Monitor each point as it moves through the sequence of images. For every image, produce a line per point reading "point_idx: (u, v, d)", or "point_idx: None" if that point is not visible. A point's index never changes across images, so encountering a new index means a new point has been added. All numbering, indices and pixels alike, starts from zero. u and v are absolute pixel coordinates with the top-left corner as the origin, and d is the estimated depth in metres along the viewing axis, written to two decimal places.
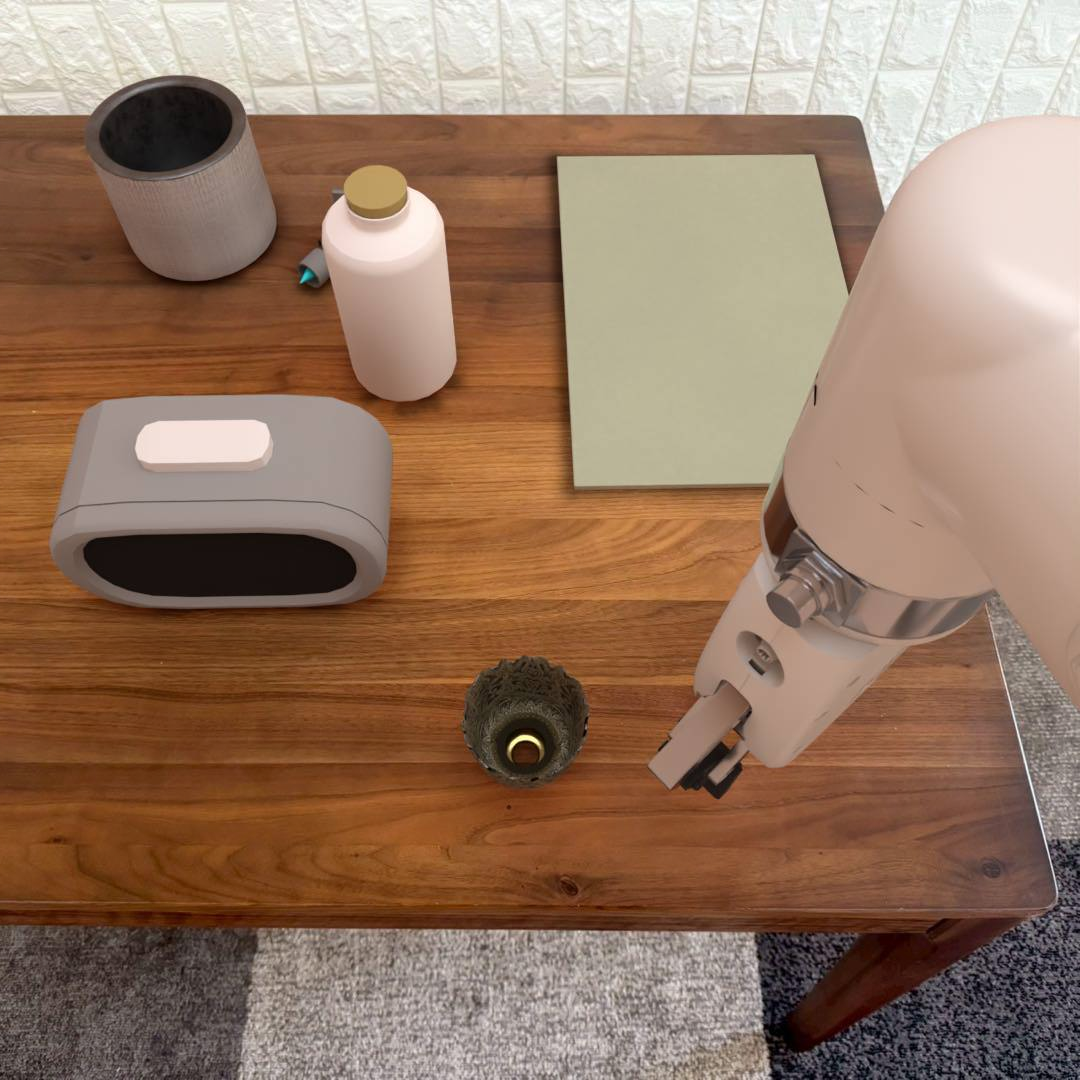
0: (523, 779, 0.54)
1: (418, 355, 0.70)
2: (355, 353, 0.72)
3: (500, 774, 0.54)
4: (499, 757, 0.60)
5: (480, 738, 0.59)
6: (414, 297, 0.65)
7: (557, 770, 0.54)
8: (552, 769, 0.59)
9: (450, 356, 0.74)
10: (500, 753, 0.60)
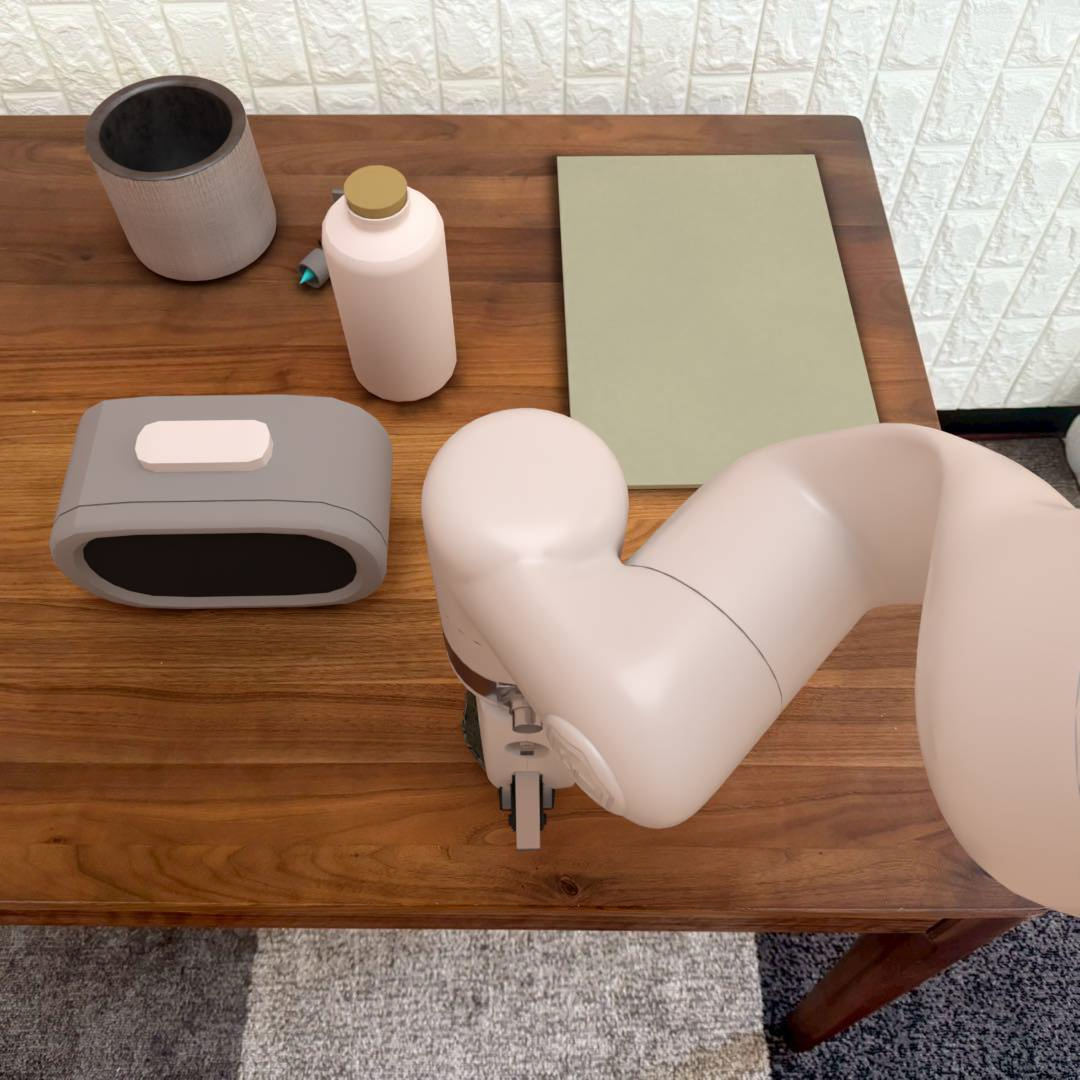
0: None
1: (418, 355, 0.70)
2: (355, 353, 0.72)
3: None
4: None
5: (479, 738, 0.59)
6: (414, 297, 0.65)
7: None
8: None
9: (450, 356, 0.74)
10: None
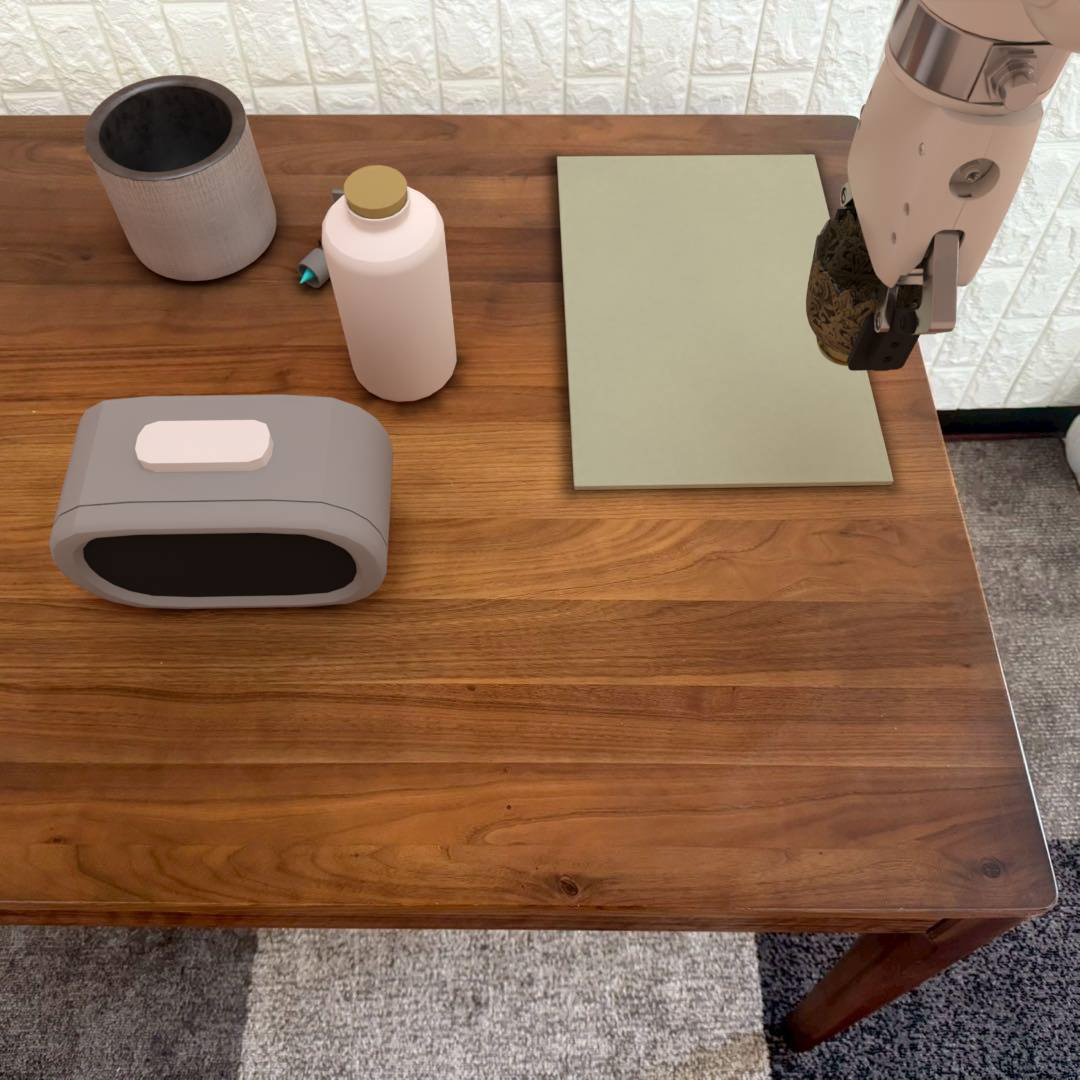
0: None
1: (418, 355, 0.70)
2: (355, 353, 0.72)
3: (869, 301, 0.51)
4: None
5: None
6: (414, 297, 0.65)
7: None
8: None
9: (450, 356, 0.74)
10: None
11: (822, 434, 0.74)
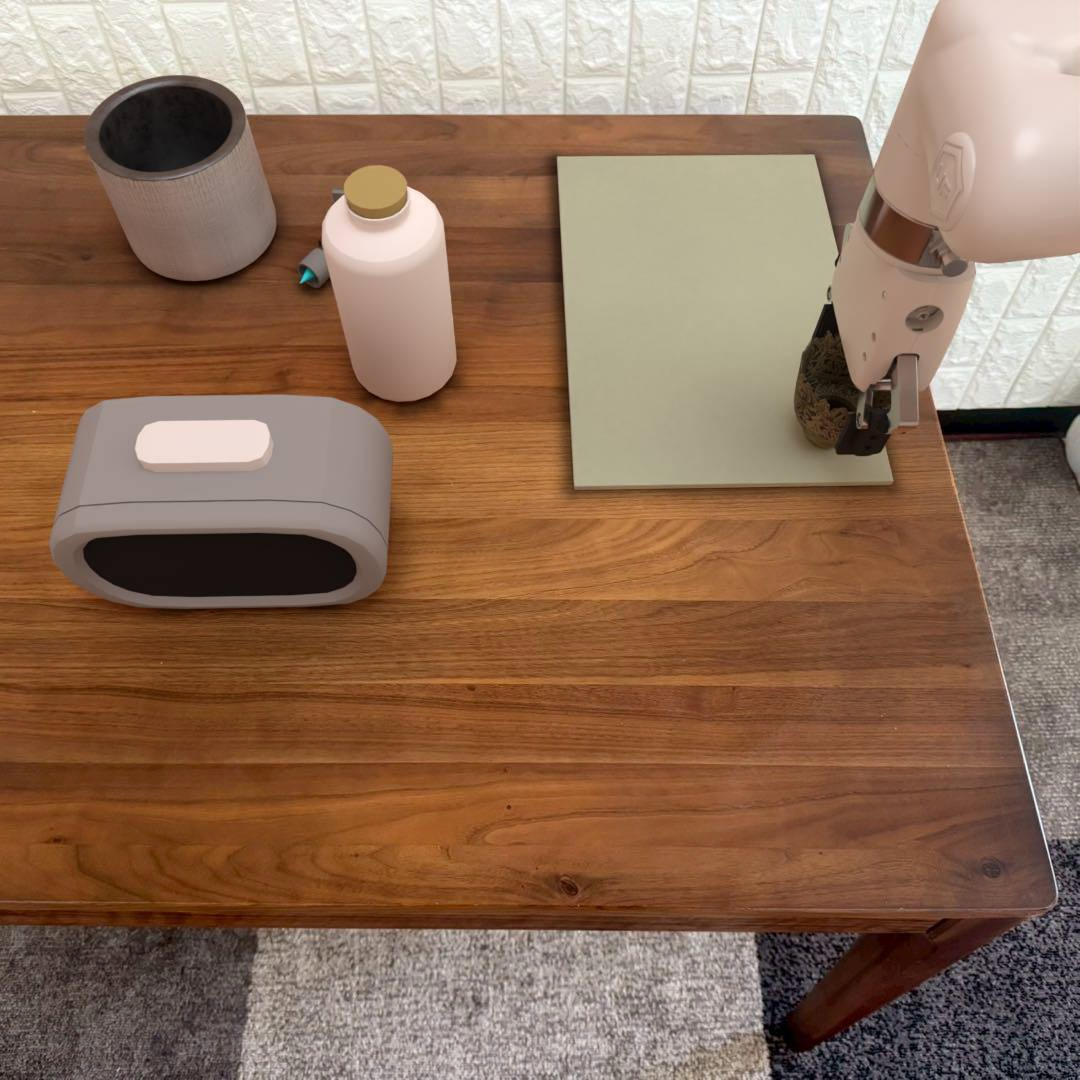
0: None
1: (418, 355, 0.70)
2: (355, 353, 0.72)
3: (842, 408, 0.65)
4: None
5: None
6: (414, 297, 0.65)
7: (887, 407, 0.66)
8: None
9: (450, 356, 0.74)
10: None
11: None
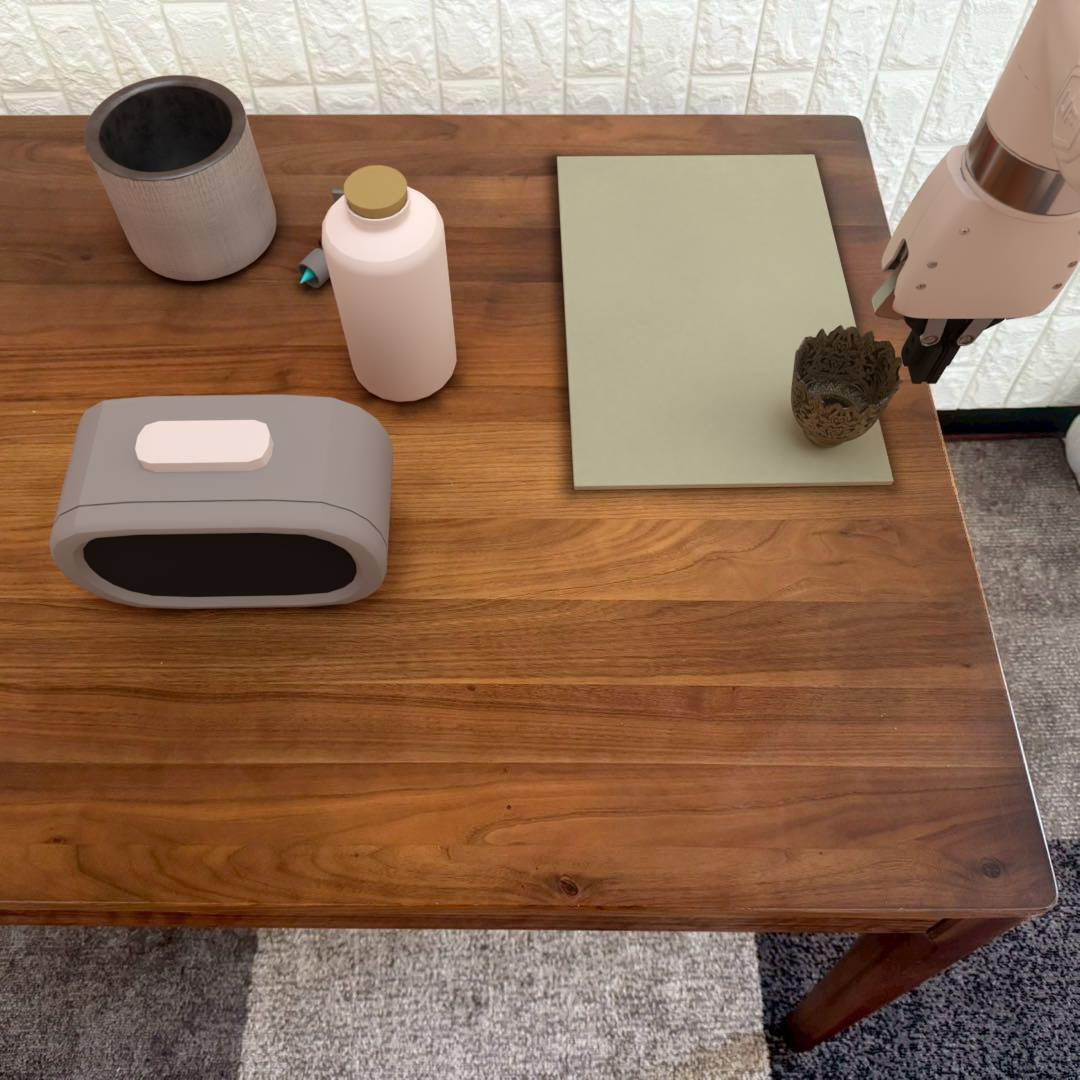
0: (855, 408, 0.65)
1: (418, 355, 0.70)
2: (355, 353, 0.72)
3: (836, 404, 0.65)
4: None
5: None
6: (414, 297, 0.65)
7: (882, 401, 0.66)
8: None
9: (450, 356, 0.74)
10: None
11: None
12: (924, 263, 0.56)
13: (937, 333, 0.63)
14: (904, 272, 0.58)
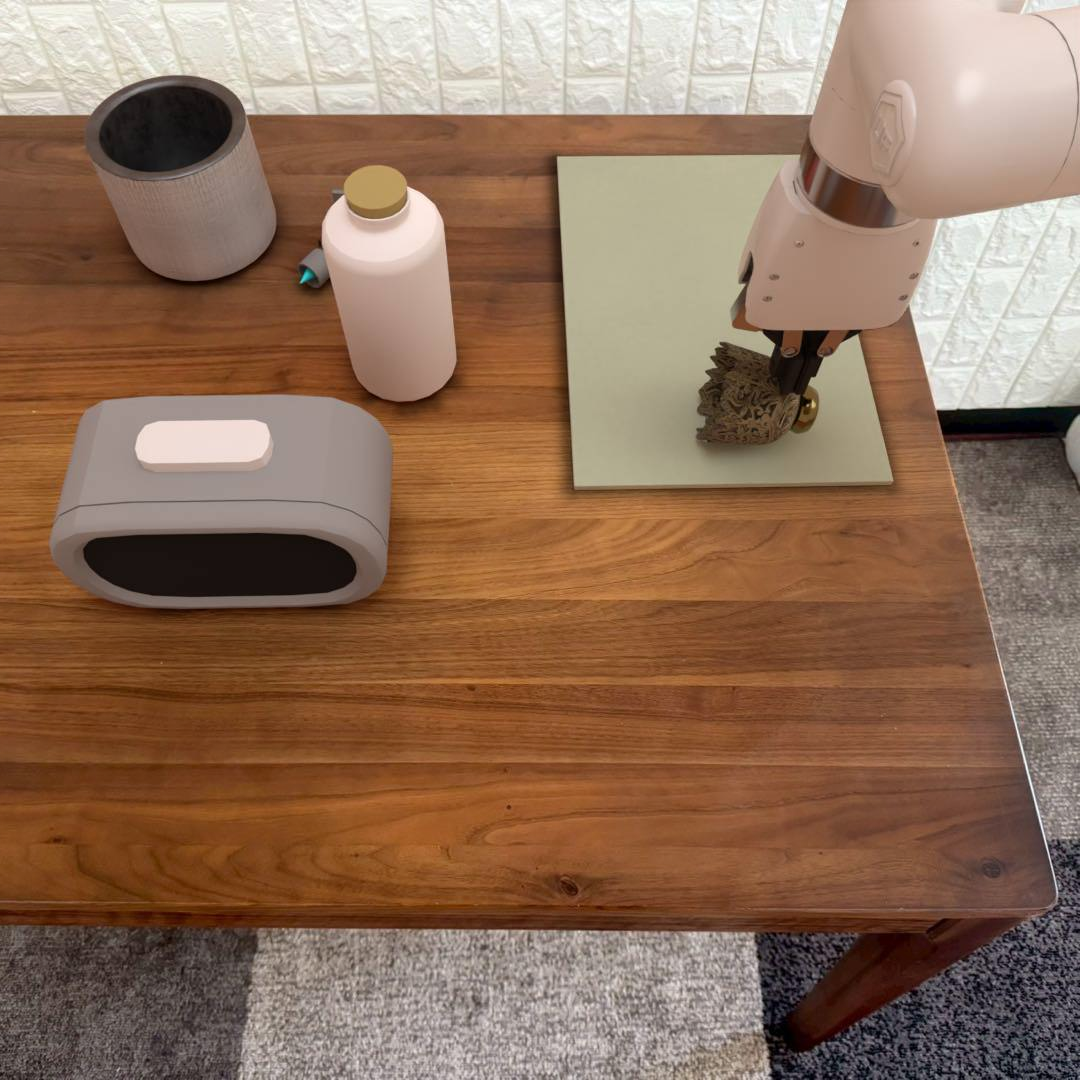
0: (713, 429, 0.69)
1: (418, 355, 0.70)
2: (355, 353, 0.72)
3: (706, 438, 0.70)
4: None
5: None
6: (414, 297, 0.65)
7: (722, 406, 0.68)
8: None
9: (450, 356, 0.74)
10: None
11: (822, 434, 0.74)
12: (766, 275, 0.56)
13: (795, 344, 0.63)
14: (751, 284, 0.58)
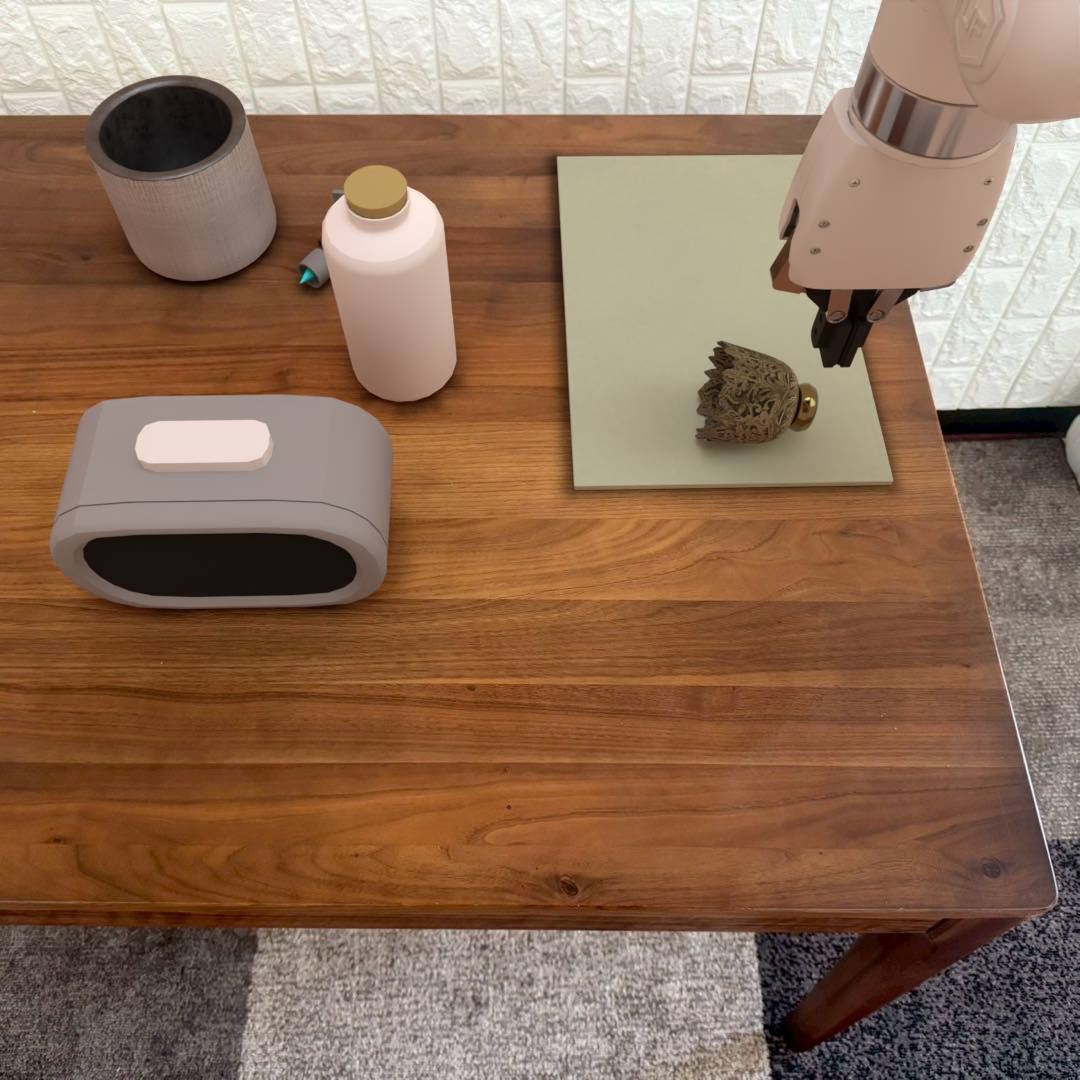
0: (712, 427, 0.69)
1: (418, 355, 0.70)
2: (355, 353, 0.72)
3: (705, 437, 0.70)
4: None
5: None
6: (414, 297, 0.65)
7: (720, 404, 0.68)
8: None
9: (450, 356, 0.74)
10: None
11: (822, 434, 0.74)
12: (815, 223, 0.50)
13: (843, 308, 0.56)
14: (796, 235, 0.52)
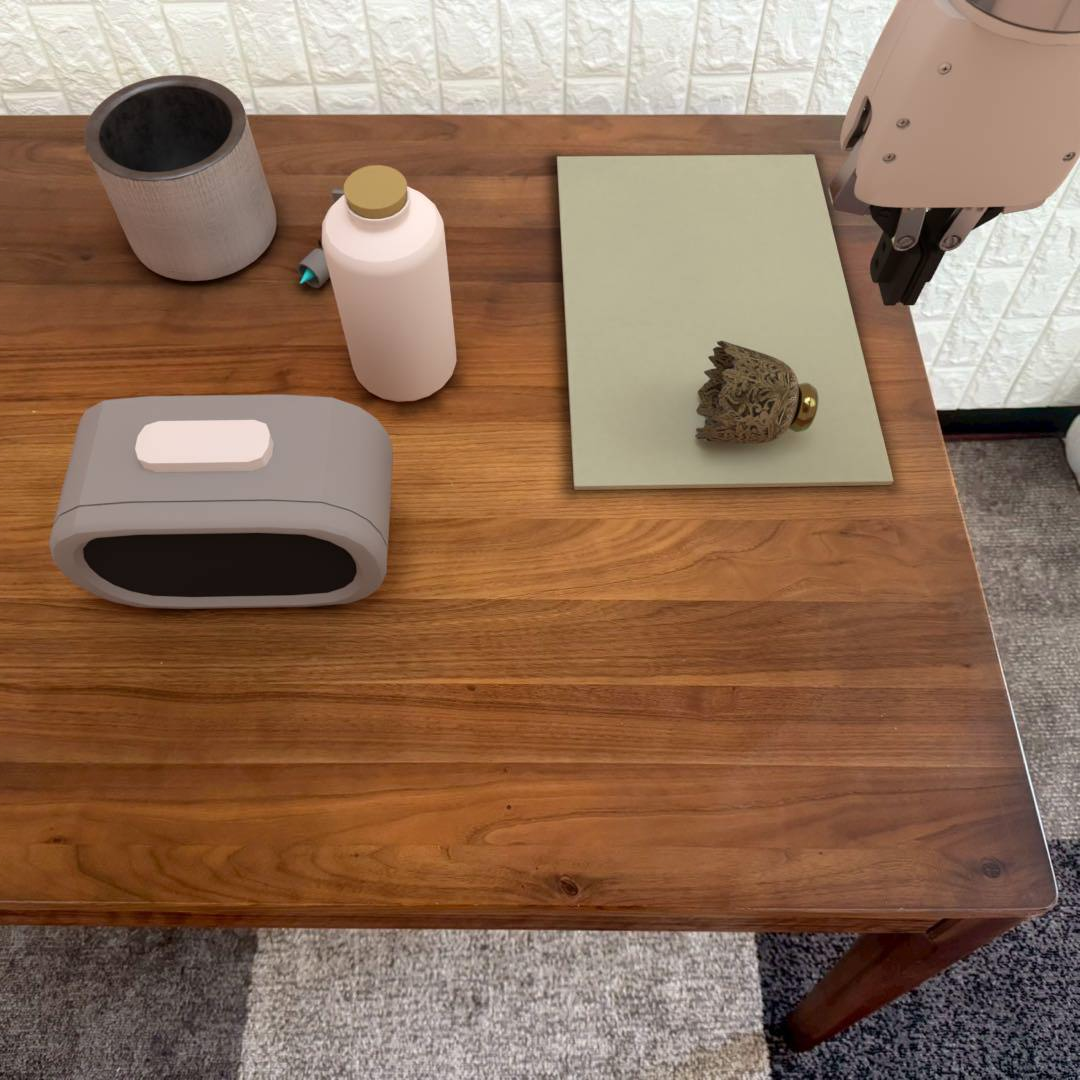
0: (712, 427, 0.69)
1: (418, 355, 0.70)
2: (355, 353, 0.72)
3: (705, 437, 0.70)
4: None
5: None
6: (414, 297, 0.65)
7: (720, 404, 0.68)
8: None
9: (450, 356, 0.74)
10: None
11: (822, 434, 0.74)
12: (892, 122, 0.42)
13: (913, 232, 0.48)
14: (867, 140, 0.44)
